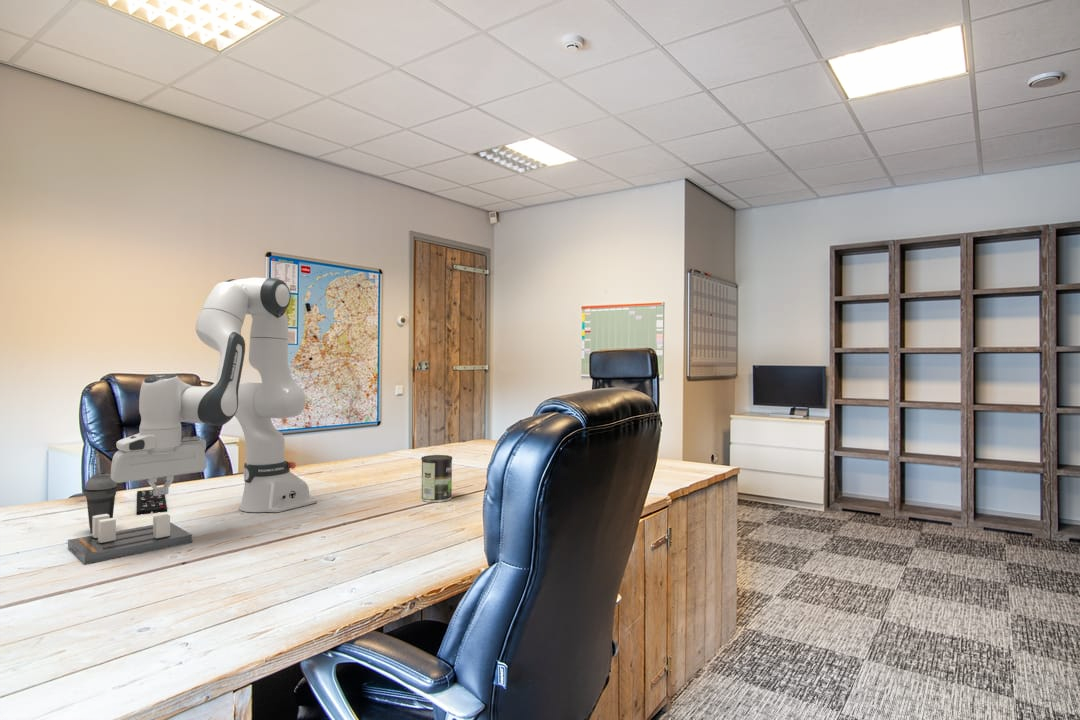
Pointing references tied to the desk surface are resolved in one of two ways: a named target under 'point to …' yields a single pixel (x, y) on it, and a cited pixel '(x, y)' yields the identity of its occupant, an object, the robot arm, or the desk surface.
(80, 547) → the grey slider panel
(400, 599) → the desk surface
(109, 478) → the beverage cup
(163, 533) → the block
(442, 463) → the coffee can
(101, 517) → the block
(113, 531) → the block
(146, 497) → the remote control
